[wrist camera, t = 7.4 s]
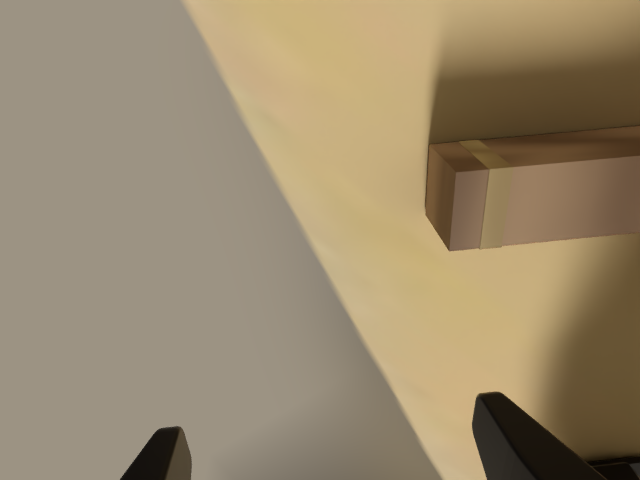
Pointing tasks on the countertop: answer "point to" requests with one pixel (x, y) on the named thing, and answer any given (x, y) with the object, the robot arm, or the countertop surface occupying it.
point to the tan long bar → (534, 188)
